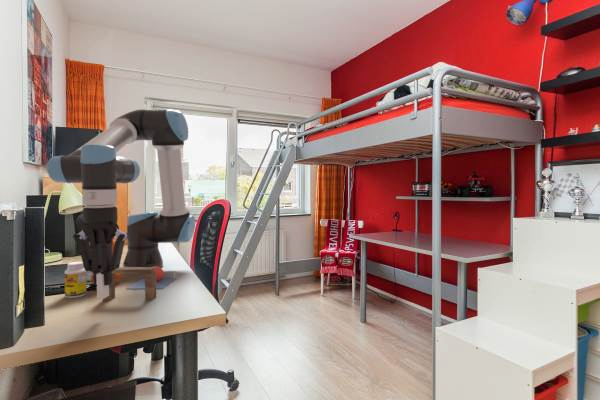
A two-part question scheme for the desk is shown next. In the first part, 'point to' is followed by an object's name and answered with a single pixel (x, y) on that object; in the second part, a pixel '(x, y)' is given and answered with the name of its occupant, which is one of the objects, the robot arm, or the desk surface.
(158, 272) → the ball
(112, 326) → the desk surface
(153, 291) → the bridge
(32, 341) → the desk surface
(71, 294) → the supplement bottle
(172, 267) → the desk surface
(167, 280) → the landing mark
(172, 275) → the stopper wall
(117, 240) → the robot arm
